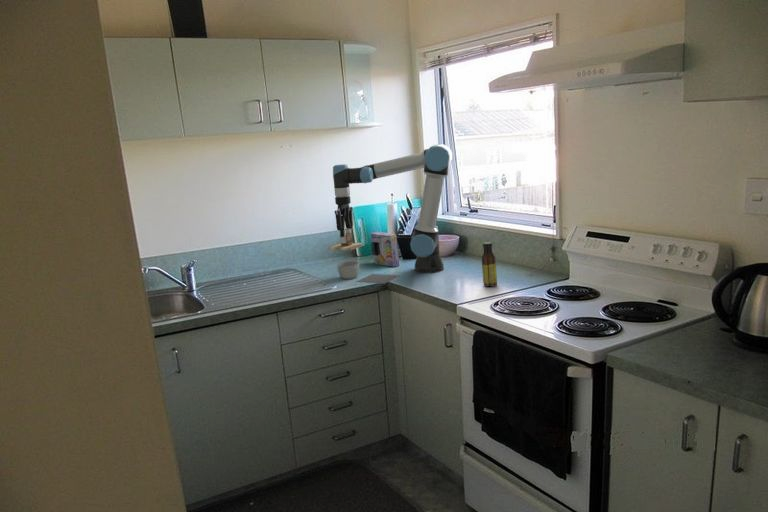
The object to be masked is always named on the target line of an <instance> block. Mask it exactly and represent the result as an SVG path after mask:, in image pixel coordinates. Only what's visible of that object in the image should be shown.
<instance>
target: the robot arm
mask: <svg viewBox="0 0 768 512" xmlns="http://www.w3.org/2000/svg"><path fill="white" fill-rule="evenodd" d="M452 160H453V152H452V150H451V149H450V146H449V147H448V146H447V145H446V144H443V143H442V144H441V143H439V144H433V145H432V146H430V147H429V148H427V149H423V150H422V152H418V153H413V154H409V155H405V156H400V157H398V158H393V159H389V160H384V161H381V162H376V163H373V164H366V165H364V166H360V167H353V168H352V167H349V166H348V164H347V163H346V164H345V163H344V164H336V165H335V164H334V165H333V167H332V179H333V185H334V186H333V187H334V195H335V197H334V200H335V202H334V203H335V205H337V209H336V210H334V215H335V222H336V223H335V224H336V229H337V231H339V237H340V236H341V238H340V243H346V233H351V234H352V230H351V229H353V226H354V223H353V222H354V221H353V220H354V218H353V207H352V206H350V204H351V196H350V195H351V191H350V185H351V184H369V183H370V184H371V183H372V182H373V180H376V179H381V178H385V177H389V176H393V175H398V174H401V173H406V172H407V173H408V172H412V171H416V170H420V169H423V173H424V175H425V179H424V180H425V181H424V186H423V191H422V197H421V198H422V199H421V205H420V211H419V216H418V217H419V218H418V222H417V224H416V225H415V226H414V228H413V234H412V238H411V240H410V245H409V246H410V249H411V252H412V253H413V254H414V255H415V256H416V258H415V259H416V260H415V262H414V271H415V272H417V273H425V274H426V273H438V272H442V271H443V270H444V269H445V268H444V263H443V259H442V257H441V255H440V252H441V251H440V239H439V237H440V235H439V234H440V231H439V227H438V225H437V220H438V213H439V209H440V202H441V197H442V192H443V185H444V179H445V178H446V177H447V176H449V175H448V174H449V170H450V169H449V168H450V164H452V163H451V162H452Z"/></svg>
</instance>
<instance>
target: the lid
mask: <svg viewBox="0 0 768 512" xmlns="http://www.w3.org/2000/svg"><path fill="white" fill-rule="evenodd" d="M339 237H340V239H341V236H340V235H339ZM364 246H365V243H364V242H353V240H352V232H351V233H346V243H341V242H339V243H337V244H335V245H332V246H328V250H332V251H334V250H335V251H354V250H356V249H358V248H361V247H364Z"/></svg>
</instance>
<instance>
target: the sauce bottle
mask: <svg viewBox="0 0 768 512" xmlns="http://www.w3.org/2000/svg"><path fill="white" fill-rule="evenodd" d="M482 248H483V254H482V255H481V269H482V282H483V285H484V287H486V286H494V287H496V286H497V285H498V274H497V262H496V256H495V254H494V252H493V242H491V241H485V242H482ZM495 285H496V286H495Z"/></svg>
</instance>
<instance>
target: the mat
mask: <svg viewBox="0 0 768 512" xmlns="http://www.w3.org/2000/svg"><path fill="white" fill-rule="evenodd" d="M398 277H400V275H398V274H397V275H396V274H385V273H384V274H381V273H371V274H369V275H366V276H365V277H363V278H361V279H359V280H357V281H356V283H370V284H383V285H385V284H387V283H389V282H390V281H392V280H394V279H396V278H398Z"/></svg>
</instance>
